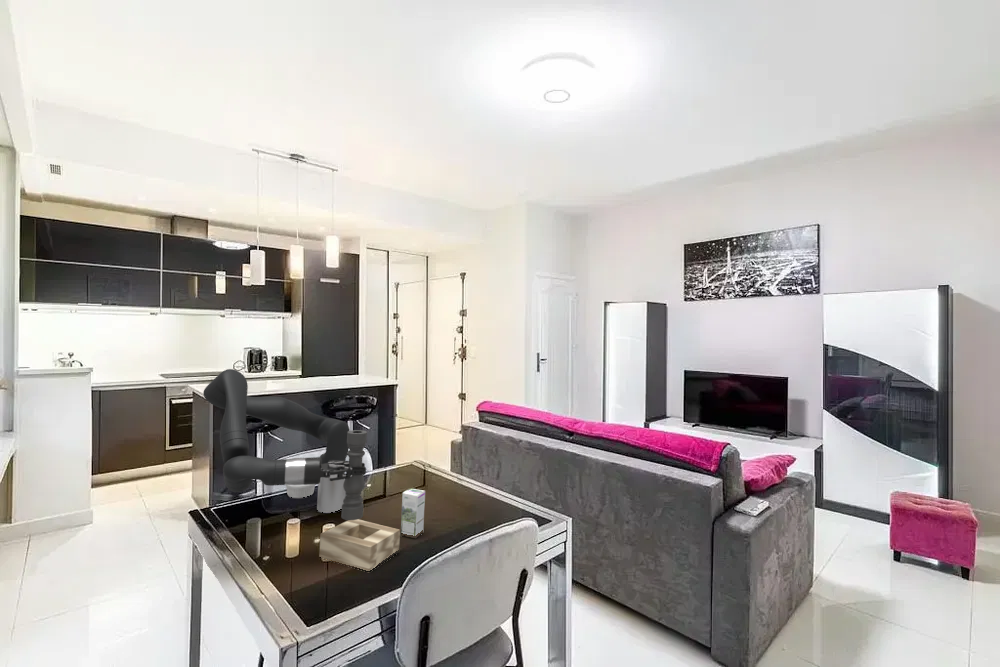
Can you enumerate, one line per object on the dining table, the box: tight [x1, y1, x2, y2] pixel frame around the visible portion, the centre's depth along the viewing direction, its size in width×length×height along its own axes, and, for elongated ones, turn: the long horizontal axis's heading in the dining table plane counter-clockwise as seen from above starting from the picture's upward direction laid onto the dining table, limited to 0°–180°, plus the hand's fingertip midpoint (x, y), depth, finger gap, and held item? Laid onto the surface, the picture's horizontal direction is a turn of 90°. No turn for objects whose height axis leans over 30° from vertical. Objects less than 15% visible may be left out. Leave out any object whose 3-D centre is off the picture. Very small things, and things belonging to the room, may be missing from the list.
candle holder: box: [340, 429, 368, 521], centre depth 141 cm, size 6×6×25 cm
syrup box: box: [400, 488, 426, 536], centre depth 158 cm, size 6×6×14 cm
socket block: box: [318, 519, 401, 571], centre depth 141 cm, size 14×18×7 cm
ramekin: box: [285, 484, 316, 499], centre depth 191 cm, size 11×11×5 cm
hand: (364, 468), depth 142 cm, fingers closed on candle holder, 3 cm apart
